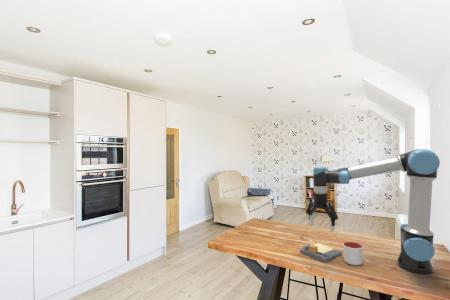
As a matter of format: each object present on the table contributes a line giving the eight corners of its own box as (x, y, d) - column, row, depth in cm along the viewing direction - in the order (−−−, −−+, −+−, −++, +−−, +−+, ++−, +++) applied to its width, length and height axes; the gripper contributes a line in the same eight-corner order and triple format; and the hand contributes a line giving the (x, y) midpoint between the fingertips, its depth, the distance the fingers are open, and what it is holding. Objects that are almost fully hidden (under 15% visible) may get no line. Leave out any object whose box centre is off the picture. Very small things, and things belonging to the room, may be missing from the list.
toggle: (317, 253, 150) (317, 246, 150) (314, 254, 148) (314, 247, 148) (312, 251, 153) (312, 244, 153) (309, 252, 151) (309, 245, 151)
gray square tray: (341, 255, 151) (341, 247, 151) (325, 263, 141) (325, 254, 141) (316, 246, 165) (316, 238, 165) (299, 252, 156) (299, 244, 156)
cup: (365, 266, 135) (365, 248, 135) (346, 265, 137) (345, 247, 137) (359, 259, 145) (359, 242, 145) (341, 258, 147) (341, 241, 147)
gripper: (344, 194, 138) (345, 232, 137) (307, 189, 158) (307, 222, 158) (336, 196, 133) (337, 235, 133) (299, 191, 154) (300, 224, 154)
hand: (321, 228), depth 146 cm, fingers open, 13 cm apart
